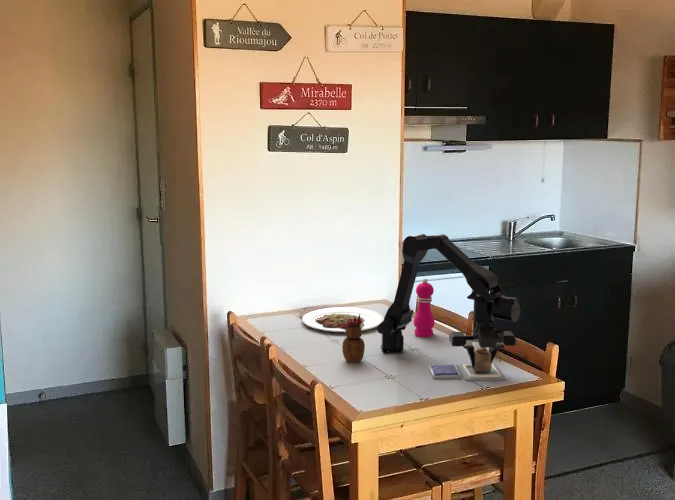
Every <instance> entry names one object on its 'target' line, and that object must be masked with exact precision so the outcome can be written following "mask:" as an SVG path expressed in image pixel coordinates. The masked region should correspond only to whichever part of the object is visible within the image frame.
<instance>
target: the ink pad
mask: <svg viewBox="0 0 675 500" xmlns="http://www.w3.org/2000/svg"><path fill="white" fill-rule="evenodd" d="M427 367H428V371H429V373H430V375H431V377H432V379H433V380H435V379H436V380H437V379H439V380H441V379H462V378H461V377H462V374H461V372H460V371H459V369H458V367H457V365H455V364H430V365H428V366H427Z"/></svg>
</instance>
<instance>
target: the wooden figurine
mask: <svg viewBox="0 0 675 500" xmlns="http://www.w3.org/2000/svg"><path fill="white" fill-rule="evenodd" d="M362 331H363V330H361V328H360V314H359V317H358V320H357V323H356V318H355V316H354V322H353V321H352V319H351V323H350V322H348V327H347V328H346V332H345V336H346V337H345V338H344V339H343V341H342V354H343V358H344V360H345V361H347V362H348V363H352V364H354V363H360V362H361V361H362V360H363V358H364V354H365V346H366V345H365V341H364V339H363V338H361V337H362V334H363V332H362Z"/></svg>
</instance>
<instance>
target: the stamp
mask: <svg viewBox="0 0 675 500" xmlns="http://www.w3.org/2000/svg"><path fill="white" fill-rule="evenodd" d="M472 368H473V370H474V371H475V373H488V372H490V371H491V354H490V352H489V351H488V350H487V349H486V348H482V347H479V348H477V350H474V367H472Z"/></svg>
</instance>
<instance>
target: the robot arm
mask: <svg viewBox="0 0 675 500" xmlns="http://www.w3.org/2000/svg"><path fill="white" fill-rule="evenodd" d="M429 250H437V252H439V253H440V254H441V255H442V256H443V257H444V258H445V259H446V260H447V261H448V262H449V263H450V264H451V265H453V267H454V268H456V269H457V270H458V271H459V272H460V273H461V274H462V275H463V276H464V278H465V281H466V283H467V285H468V286H469V287H470V289H471V293H470V294H469V295H468V296H467V297H466V298H467V299H468V300H471V301H472V300H473V310H472V311H473V315H472V329H471V333H472V334H471V335H470V334H467V335H466V334H465V333H464V332H463V331H450V332H449V334H448V341H449V342H450V344H451V346H452V347H463V349H465V350H466V352H467V354H468V357H469V360H470V364H472V367H474V346H473V345H472V343H473V342H479V346H480V347H482V348H486V347H489V352H490V354H491V364H493V362H494V359H495V356H496V355H497V354H498V351H500V350H501V349H504V348H505V346H506V347H507V346H510V347H511V346H517V337H516V336H515V335H514V333H513V332H512V331H511V330H503V329H495V321H494V318H495V319H497V320H501V321H508V322H511V323H516V322H517V321H518V320H519V318H520V316H521V307H520V304H519V302H518V297H513V296H512V297H509V296H505V295H506V294H505V292H504V291H503V289H502V287H501V285H500V284H499V281H498V277H497V275H496V274H495V273H493V272H492V271H491V270H489V269H488V268H485V267H483V266H481V265H478V264H477V263H476V262H475V261H473V260H472V259H471V258H470V257H469V256H468V255H467V254H466V253H464V252H463V250H461V249H460V248H459V247H458V246H457V245H456V244H455V243H454V242H453V241H451V240H450V238H449V236H447V235H446V234H436V235H426V234H425V233H416V234H412V235H408V236H407V237H404V238H403V241H402V250H401V253H402V257H403V265H402V268H401V272H400V276H399V280H398V284H397V288H396V291H395V296H394V299H393V301H392V303H391V304H390V306H389V307H388V309H387V310H386V313H385V315H384V316H383V317H384V321H382V322H381V323H380V324H379V325H378V326H377V327H376V329H377V332H378V334H380V335H381V344H380V349H381V352H382V353H388V354H389V353H403V352H404V351H403V349H404V341H405V339H404V334H403V332H402V331H405V329H406V328H407V326H408V325H409V323H411V322H412V321H413V320H412V318H413V315H414V313H415V312H414V309H411V307H410V301H411V297H412V293H413V289H414V285H415V282H416V279H417V275H418V271H419V266H420V263H421V262H422V261H423V259H424V258H425V257H426V255H427V254H428V251H429ZM491 292H492V293H491ZM504 345H505V346H504Z"/></svg>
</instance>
